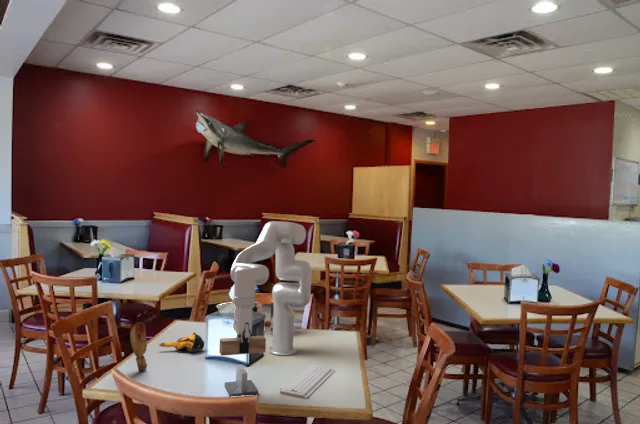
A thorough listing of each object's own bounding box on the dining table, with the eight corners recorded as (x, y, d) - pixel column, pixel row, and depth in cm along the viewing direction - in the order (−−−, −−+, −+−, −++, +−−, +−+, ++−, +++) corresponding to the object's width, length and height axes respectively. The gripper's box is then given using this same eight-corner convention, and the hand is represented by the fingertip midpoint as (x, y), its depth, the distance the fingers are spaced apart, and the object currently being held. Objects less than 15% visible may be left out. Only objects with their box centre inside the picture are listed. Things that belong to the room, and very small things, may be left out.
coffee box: (268, 334, 258) (270, 303, 257) (275, 331, 264) (276, 301, 263) (284, 337, 254) (286, 305, 254) (290, 334, 260) (291, 303, 260)
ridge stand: (224, 386, 188) (225, 365, 187) (251, 383, 191) (251, 362, 191) (230, 398, 178) (231, 375, 177) (258, 395, 181) (259, 373, 181)
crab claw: (127, 372, 197) (129, 322, 197) (134, 368, 202) (136, 318, 202) (144, 374, 196) (145, 323, 196) (150, 370, 201) (152, 320, 201)
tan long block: (219, 352, 183) (219, 338, 183) (262, 349, 189) (263, 335, 188) (221, 355, 179) (222, 341, 179) (265, 352, 185) (265, 338, 185)
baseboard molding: (337, 373, 208) (310, 368, 213) (338, 366, 208) (310, 361, 212) (310, 401, 179) (279, 395, 183) (310, 393, 179) (279, 387, 183)
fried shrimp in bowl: (207, 344, 223) (167, 334, 216) (197, 363, 226) (158, 354, 219) (206, 331, 231) (168, 321, 224) (197, 349, 234) (159, 340, 227)
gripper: (229, 296, 190) (227, 345, 190) (239, 306, 174) (237, 359, 175) (249, 296, 192) (247, 343, 193) (260, 305, 177) (258, 357, 177)
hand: (242, 350), depth 184 cm, fingers closed on tan long block, 4 cm apart
